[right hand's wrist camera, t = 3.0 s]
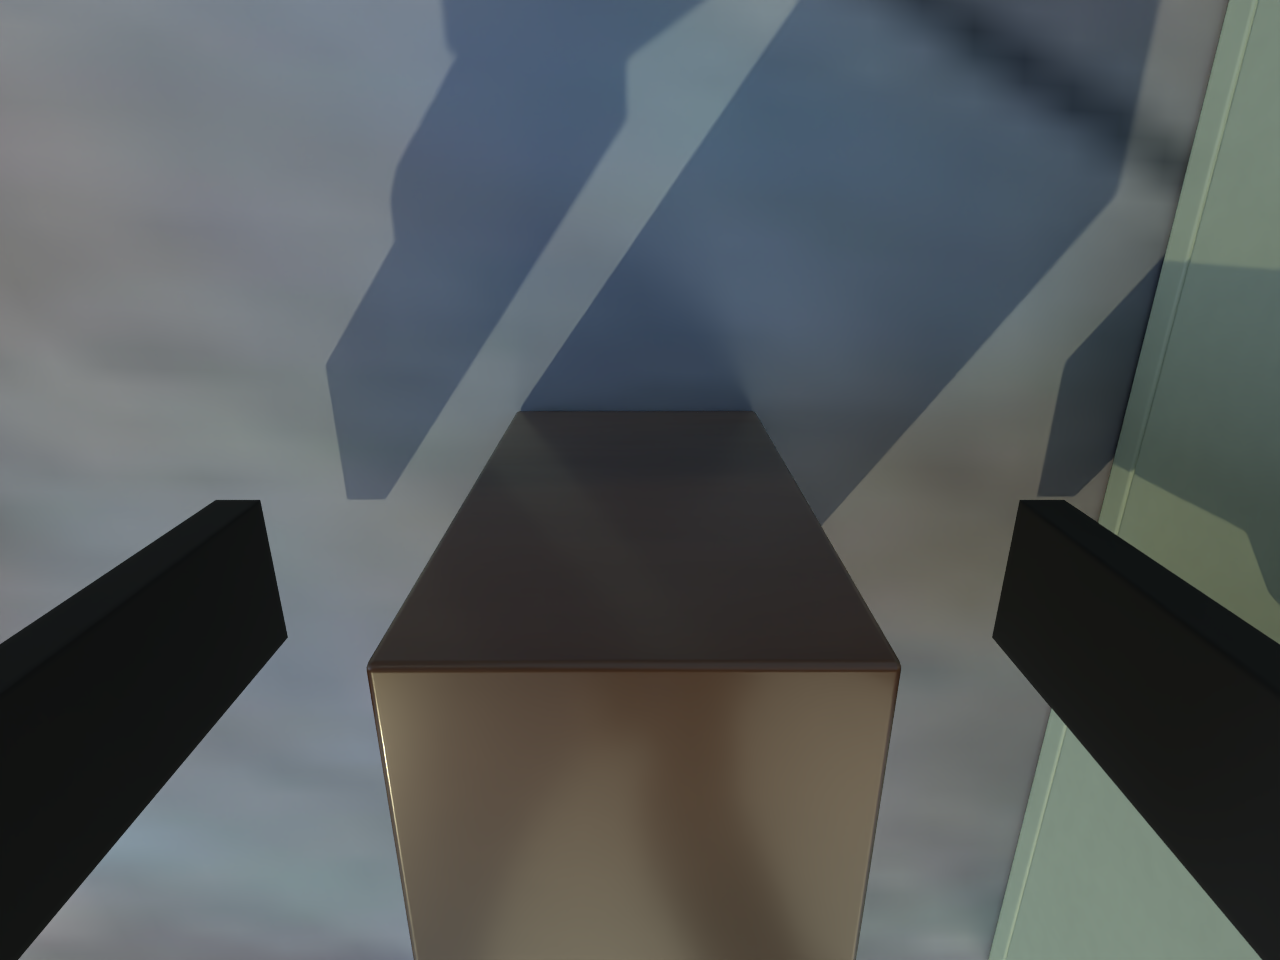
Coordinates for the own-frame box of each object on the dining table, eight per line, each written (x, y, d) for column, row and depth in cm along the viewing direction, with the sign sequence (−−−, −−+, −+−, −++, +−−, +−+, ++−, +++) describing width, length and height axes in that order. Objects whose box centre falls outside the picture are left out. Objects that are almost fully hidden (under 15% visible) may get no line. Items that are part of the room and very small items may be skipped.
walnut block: (516, 410, 13) (361, 665, 6) (755, 409, 13) (906, 664, 6) (529, 617, 15) (421, 1025, 7) (743, 617, 15) (848, 1024, 7)
